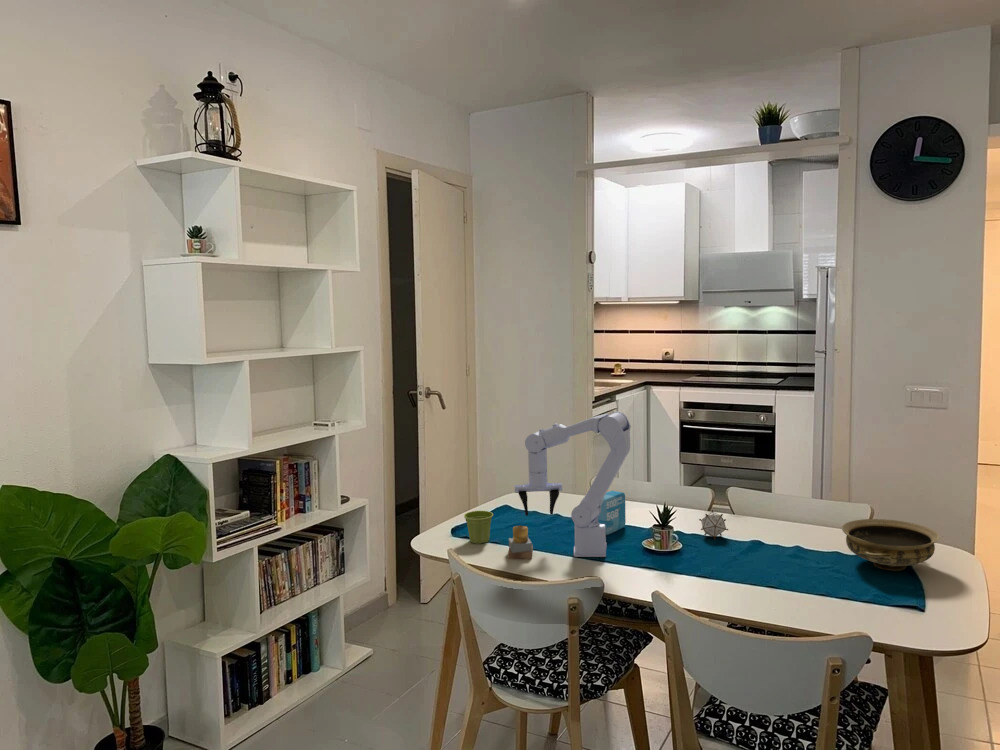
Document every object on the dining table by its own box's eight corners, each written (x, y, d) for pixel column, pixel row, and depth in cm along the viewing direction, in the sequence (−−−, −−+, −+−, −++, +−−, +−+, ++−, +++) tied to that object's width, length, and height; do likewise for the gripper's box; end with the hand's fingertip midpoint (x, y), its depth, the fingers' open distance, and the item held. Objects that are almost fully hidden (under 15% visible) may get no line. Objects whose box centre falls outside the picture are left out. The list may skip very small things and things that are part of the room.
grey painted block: (528, 544, 231) (527, 536, 231) (532, 551, 225) (531, 543, 225) (508, 546, 230) (508, 538, 230) (512, 552, 224) (511, 544, 224)
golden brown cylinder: (529, 538, 229) (528, 526, 228) (526, 543, 224) (526, 530, 224) (514, 538, 230) (514, 525, 229) (512, 542, 225) (511, 529, 225)
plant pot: (461, 545, 238) (460, 518, 237) (469, 535, 248) (468, 509, 247) (489, 546, 236) (489, 519, 235) (497, 537, 245) (496, 510, 244)
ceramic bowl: (860, 542, 229) (861, 510, 228) (950, 559, 213) (951, 525, 212) (824, 571, 207) (825, 536, 206) (922, 593, 191) (923, 554, 190)
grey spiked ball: (720, 548, 239) (739, 527, 234) (699, 543, 235) (717, 521, 231) (709, 527, 246) (727, 506, 241) (688, 522, 243) (706, 500, 238)
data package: (605, 536, 243) (604, 499, 241) (593, 533, 246) (593, 497, 244) (625, 526, 252) (625, 491, 250) (614, 524, 255) (613, 489, 253)
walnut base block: (532, 552, 231) (532, 544, 231) (531, 560, 224) (531, 552, 224) (510, 552, 232) (509, 544, 231) (508, 560, 225) (508, 552, 224)
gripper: (515, 475, 227) (516, 519, 229) (563, 473, 228) (564, 516, 230) (513, 469, 234) (514, 512, 236) (559, 467, 235) (560, 510, 237)
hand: (539, 514), depth 233 cm, fingers open, 7 cm apart
